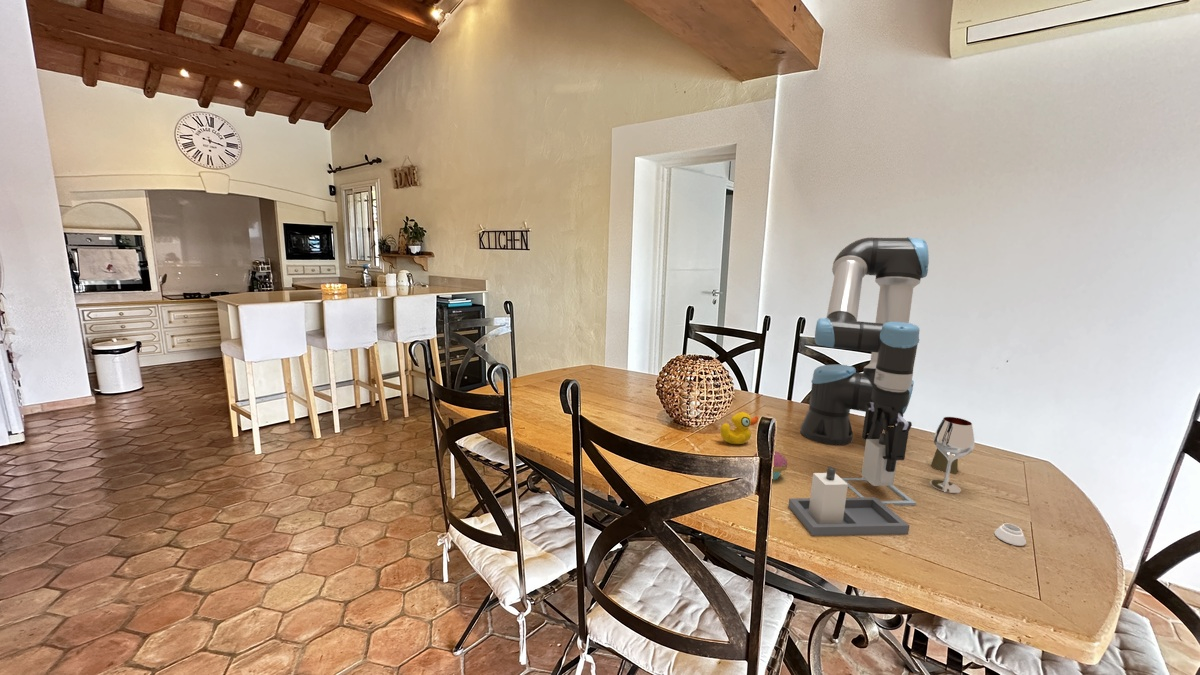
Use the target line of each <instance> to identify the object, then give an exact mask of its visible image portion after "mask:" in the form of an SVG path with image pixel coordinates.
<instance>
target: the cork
mask: <svg viewBox="0 0 1200 675" xmlns="http://www.w3.org/2000/svg"><path fill="white" fill-rule="evenodd" d="M958 461H959V458H958V459H955V460H954V461H953V462H952V464H951V469H950V474H957V473H958V471H959V470H958V469H959V468H958V466H959V462H958ZM947 464H948V460H947V458H946V457H945V456H944V455H943V454H942V453H941V452H940V451H939V450H938V448H937V447H936V450H935V453H934V455H933V458H932V461H931V465H930V466H931V467H932V468H933V467H934V468H933V469H935V470H937V471H939V470H940V472H942V471H943V473H946V469H947ZM956 472H957V473H956Z"/></svg>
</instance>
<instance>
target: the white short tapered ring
mask: <svg viewBox="0 0 1200 675" xmlns="http://www.w3.org/2000/svg"><path fill="white" fill-rule="evenodd" d="M994 536H995V537H996V538H998V539H999V540H1001V541H1003V543H1007V544H1008V545H1009V544H1010V545H1014V546H1018V547H1019V546H1020V547H1023V546H1026V544H1027V540H1026V537H1025V535H1024V533H1023V530H1022V528H1020V527H1019V526H1018V525H1015V524H1012V523H1007V522H1005V523H1003V524H1002V525H1000V526H998V527H997V528H996V529H995V530H994Z"/></svg>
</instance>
